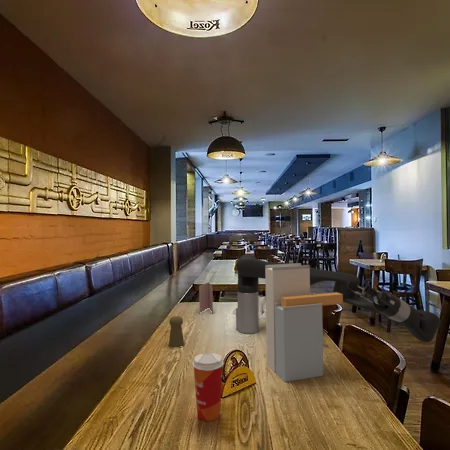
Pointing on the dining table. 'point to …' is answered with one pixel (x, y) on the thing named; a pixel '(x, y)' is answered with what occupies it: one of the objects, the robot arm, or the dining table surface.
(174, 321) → the cork
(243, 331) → the robot arm
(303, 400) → the dining table surface
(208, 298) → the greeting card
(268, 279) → the tall pale grey pillar
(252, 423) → the dining table surface
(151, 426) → the dining table surface
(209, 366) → the paper cup
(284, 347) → the grey box
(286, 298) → the bar
